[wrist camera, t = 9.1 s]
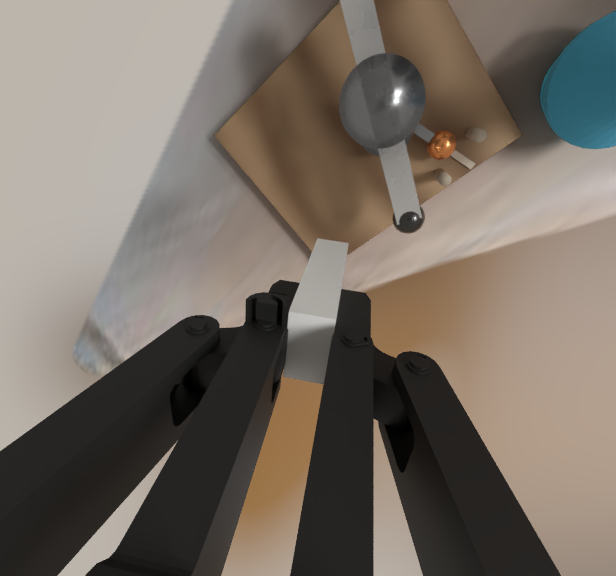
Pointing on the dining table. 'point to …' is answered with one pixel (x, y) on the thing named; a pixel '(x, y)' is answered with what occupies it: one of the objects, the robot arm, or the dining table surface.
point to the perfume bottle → (584, 88)
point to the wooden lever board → (338, 143)
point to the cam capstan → (387, 111)
